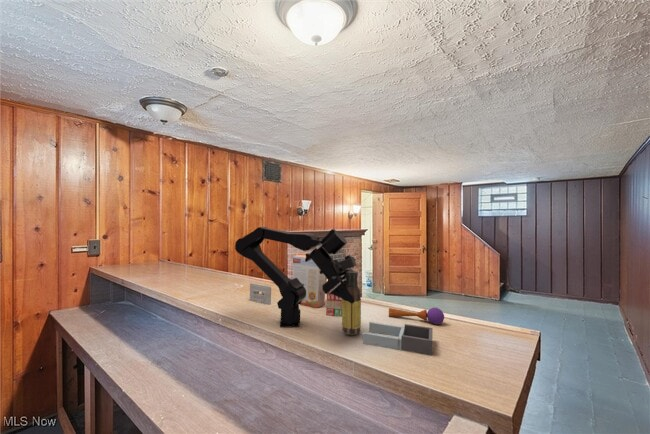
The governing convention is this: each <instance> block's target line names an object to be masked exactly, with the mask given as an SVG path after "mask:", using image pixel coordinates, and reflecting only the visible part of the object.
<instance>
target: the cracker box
mask: <svg viewBox="0 0 650 434" xmlns="http://www.w3.org/2000/svg"><path fill="white" fill-rule="evenodd" d="M305 258H306V254H295V255H293V256H292V279H294V278H297V279H298V280H299V281H300V282H301V283H302V284H304V287H305V289H306V297H305V298H304V299H303V300H302V302H301V304H300V305H301V306H302V305H303V306H308V307H312V308H317V309H319V308H320V307H323V306H325V302H326V301H325V300H326V298H325V297H326V293H325V292H324V291H323V290H322V285H323V284H325V283H326V277H325V275H324V274H320V271H321V270H320V269H319V268H318V267H317V265H316V264H315V263H314V262H313V261H312V259H311V260H310V261H307V262H305Z"/></svg>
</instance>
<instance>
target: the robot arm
mask: <svg viewBox="0 0 650 434" xmlns="http://www.w3.org/2000/svg"><path fill="white" fill-rule="evenodd" d="M265 240H270V241H274V242H278V243H283V244H284V243H285V244H288V245H291V246H292V247H294V248H295V249H298V250H300V251H303V252H304V251H305V252H307V251H311V250H312V251H311V252H307V253H305V255H306V258H305V262H307V261H310V260H311V259H312V261H313V262H314V263H315V264H316V265H317V267H318V268H319V269H320V270H321V271H320V274H324V275H325V279H327V281H325V284H323V285H322V290H323V291H324V292H325V295H327V293H329V292H330V290H331V289H332V290H333V291H332V292H330V294H333V295H335V296H338V297H340V298H342V299H344V300H346V301H348V302H350V303H354V302H355V301H354V299H353V297H352V296H351V294H350V293H349V291H348V290H347V288H346V275H345V272H346V271H349V270H353V268H354V267H355V266H357V265H358V264H357V262H356V260H357V259H356V258H355V257H354V256H352V255H350V254H348V255H346V256H344V259H342V260H341V261H339V260H338V259H334V258H333V257H332V256H331V255H336V254H337V253H338V252H340V250H342V248H344V247H345V246H346V245H347V244H348V241H347V239H346V238H345V237H344V236H343V234H341V233H340V232H338V231H337V230H336V229H335V228H333V229H331V230H329V232H328V233H327V234H326V235H325V236H324V237H319V236H317V235H316V234H315V233H308V232H307V233H306V232H305V233H304V232H303V233H302V232H300V233H299V232H298V233H295V232H289V231H284V230H281V229H274V228H269V227H266V226H260V227H257V228H255V229H254V230H253V231H251V232H250V233H248V234H246V235H244V236H243V237H240V238H238V239H237V240H236V241H235V246H234V250H235V251H236V253H238V254H239V255H240V256H242V257H243V258H246V259H248V260H250V261H252V262H253V263H254V264H255V265H256V266H257V267H258V268H259V269H260V270H261V271H262V272H263V273H264V274H265V275H266V276H267V277H268V279H270V280H271V282H273V284H275V286H276V287H277V288H278V291H279V293H280V296H281V298H280V299H279V300H278V301H277V302H276V303H277V307H278V309H280V322H279V327H280V328H281V327H294V328H295V327H299V326H300V323H301V309H300V305H302V304H301V302H302V300H303V299H304V298H305V297H306V289H305V287H304V284H302V283H301V282H300V281H299V280H298V279H297V278H294V279H293V278H290V277H288V276H287V275H286V274H285V273H284V272H283V271H282V270H281V269H280V268H278V266H277V265H276V264H275V263H274V262H273V261H272V260H271V259H270V258H269V257H268V256H267V255H266V254H265V253H264V252H263V251H262V247H261V244H262V243H263V242H264V241H265ZM319 246H320V247H319ZM317 247H319V248H317Z"/></svg>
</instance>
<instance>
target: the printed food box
mask: <svg viewBox="0 0 650 434" xmlns="http://www.w3.org/2000/svg"><path fill="white" fill-rule="evenodd" d="M332 291H333V290H332V289H331V290H330V292H332ZM330 292H329V293H327V294H326V309H325V310H326V316H331V317H341V318H342V298H340V297H338V296H335V295H333V294H330Z"/></svg>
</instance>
